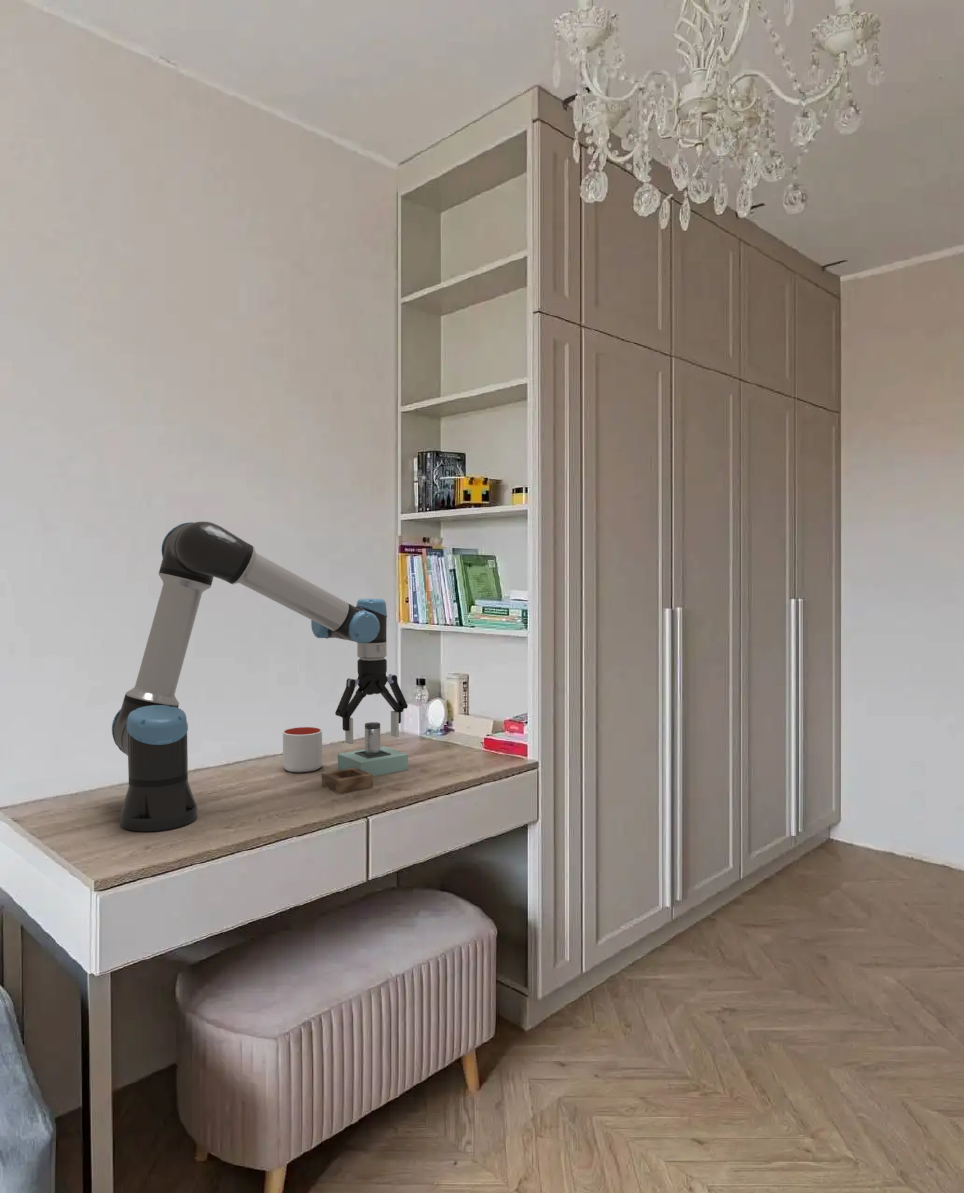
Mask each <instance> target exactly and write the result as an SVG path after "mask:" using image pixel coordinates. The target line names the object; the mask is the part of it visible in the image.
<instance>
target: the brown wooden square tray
mask: <svg viewBox="0 0 964 1193" xmlns="http://www.w3.org/2000/svg"><path fill="white" fill-rule="evenodd" d="M321 786H323V787H324V788H327V789H329V790H331V791H332V792H335V793H338V794H344V793H351V792H354V791H355V792H356V791H360V790H365V789H370V788H374V776H373V775H372V774H370V773H367V772H365V771H362V770H360V769H357V768H355V767H353V768H348V769H342V770H339V769H337V770H332V771H325V772H321Z"/></svg>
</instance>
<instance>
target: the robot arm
mask: <svg viewBox="0 0 964 1193" xmlns="http://www.w3.org/2000/svg"><path fill="white" fill-rule="evenodd" d="M161 556H162V560H161V564H160V567H159V570H158V576H159V578H160V579H161V581H162V584H163V585H162V586H161V587H162V588H161V590H160V595H159V598H158V601H157V606H156V609H155V613H154V616H153V619H152V623H151V628H150V631H149V634H148V638H147V641H146V645H145V648H144V649H145V650H144V652H143V657H142V659H141V663H140V667H139V671H138V675H137V678H136V681H135V685H134V687H132V688H131V689H130V690H128V691H126V692H125V695H124V697H123V701H122V704H121V708H120V709H119V710H118V711H117V713H116V714H115V716H114V717H113V720H112V723H111V736H112V738H113V742H114V744H115V745H116V747H117V748H118V749H119V750H120V751H121V752H122V753H123V754H125V755H126V756H127V763H128V765H127V766H128V767H127V771H128V772H127V773H128V774H127V775H128V788H127V791H126V794H125V798H124V801H123V804H122V808H121V811H120V813H119V820H120V827H121V828H122V829H124V830H129V831H132V832H159V831H167V830H171V829H172V830H173V829H176V828H181V827H183V826H186V825H189V824H190V823H193V822H195V821H196V819H197V818H198V806H197V803H196V800H195V797H194V795H193V794H194V793H193V792H192V789H191V786H190V784H189V783H190V782H189V774H188V773H189V771H188V770H189V769H188V768H189V767H188V766H189V765H188V729H189V724H188V722H187V721H188V720H187V715H186V713H185V712H184V710H182V709H181V708H180V707H179V705H180V702H179V700H178V699H177V697H176V696H175V694H176V690H177V687H178V683H179V679H180V676H181V671H182V668H183V665H184V662H185V661H184V660H185V657H186V654H187V649H188V647H189V642H190V638H191V636H192V633H193V632H192V631H193V627H194V625H195V620H196V617H197V615H198V614H197V613H198V609H199V606H200V602H201V598H202V594H203V593H204V592H205V591H207V590H209V589H210V588H212V584H213V580H214V578H216V579H219V580H222V581H225V582H227V583H228V584H231V585H236V584H240V585H243V586H244V587H246V588H247V589H248V588H249V589H250V590H253V591H254V592H256V593H258V594H260V595H262V596H264V597H266V598H268V599H270V600H272V601H274V602H275V603H277V604H280V605H281V606H284V607H286V608H287V609H290V610H291V611H294V612H295V613H297V614H299V615H301V616H303V617H305V618H307V619H309V620H311V621H310V622H311V624H310V626H311V631H312V633H313V635H314V637H316V639H328V640H329V639H339V640H344V641H350V642H354V643H357V644H356V645H357V648H356V650H357V654H356V655H357V657H358V658H359V659H358V660H357V662H356V663H357V678H355V679H353V678H347V679H346V683H345V689H344V691H343V693H342V695H341V698H340V701H339V702H338V705H337V708H336V710H335V713H334V714H335V716H337V717H340V718H341V719H342V730H343V731H344V732H345V733H344V734H345V738H344V739H345V741H344V742H345V743H346V744H349V745H353V744H354V718H353V717H352V715H353V714H354V713H355V711H356V710H357V708H358V706H359V705H360V703H361V701H363V699H364V698H365V697H367V695H368V696H372V695H379V694H380V695H381V697H383V698H384V700H385V701H386V702H387V703H388V705H389V706H390V707H391V708H392V710H391V711H390V736H392V737H394V738H398V737H399V736H400V734H399V733H400V732H399V731H400V730H399V729H400V726H399V725H400V724H401V723H402V713H403V712H404V710H405V709H407V708H408V703H407V701H406V699H405V697H404V694H403V692H402V690H401V688H400V685H399V683H398V676H397V675H396V674H388V675H387V668H388V667H387V666H388V663H387V662H388V661H387V659H386V657H387V655H388V654H387V627H388V626H387V625H388V624H387V622H388V620H387V618H388V613H387V603H386V601H385V600H384V599H382V598H359V599H358V600H357V602H356V606H354V605H353V604H350V603H348V602H347V601H345V600H344V599H343V598H339V597H338V596H336V595H334V594H333V593H330V592H329V591H328V590H327V591H326V590H325V589H323V588H321V587H319V586H317V585H316V584H314V583H313V582H310V581H309V580H307V579H305V578H303V577H301V576H300V575H298V574H296V573H293V572H292V571H290V570H288V569H285V567H283V566H280V565H279V564H277V563H275V562H274V561H272V560H269V559H268V558H266V557H264V556H263V555H260V554H259V553H258V552H256V548H255V546H254V545H252V544H250V543H248V542H246V541H245V540H244V539H242V538H240V537H238V536H237V535H236V534H234V533H232V532H230V531H228V530H227V529H225V528H223V527H222V526H220V525H218V524H216V523H214V522H210V521H196V522H191V521H190V522H184V523H181V524H180V523H179V524H178V525H176V526H174V527H173V528H172V529H171V530H169V531H168V532H167V534H166V535H165V536H164V538H163V540H162V544H161ZM387 683H388V684H389V687H390V689H391V691H392V693H393V695H392V694H391V693H390V690H388V688H387V687H386V685H387ZM356 687H357V688H356ZM355 688H356V691H355ZM354 692H355V694H354ZM353 695H354V696H353ZM393 696H394V697H393Z"/></svg>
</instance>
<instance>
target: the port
mask: <svg viewBox="0 0 964 1193" xmlns="http://www.w3.org/2000/svg"><path fill="white" fill-rule="evenodd" d="M353 767H355V768H357V769H360V770H362V771H365V772H367V773H370V774H372V775H373V777H377V776H382V775H388V774H392V773H398V772H403V771H409V754H408V753H405V752H402V751H398V750H395V749H393V748H390V747H387V746H380V755H376V756H370V757H368V756H366V755H365V748H364V749H359V750H354V751H352V750H351V751H346V752H341V753H337V770H342V769H348V768H353Z"/></svg>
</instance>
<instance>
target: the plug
mask: <svg viewBox="0 0 964 1193" xmlns="http://www.w3.org/2000/svg"><path fill="white" fill-rule="evenodd" d="M380 747H381V723H380V722H377V721H375V722H373V721H372V722H371V721H370V722H366V723H364V749H365V755H366V756H368V757H370V756H376V755H380Z"/></svg>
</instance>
